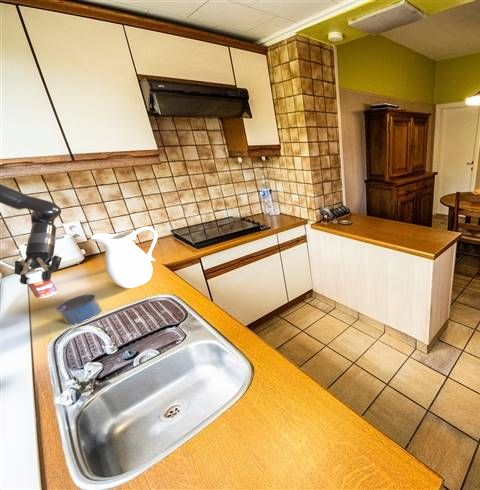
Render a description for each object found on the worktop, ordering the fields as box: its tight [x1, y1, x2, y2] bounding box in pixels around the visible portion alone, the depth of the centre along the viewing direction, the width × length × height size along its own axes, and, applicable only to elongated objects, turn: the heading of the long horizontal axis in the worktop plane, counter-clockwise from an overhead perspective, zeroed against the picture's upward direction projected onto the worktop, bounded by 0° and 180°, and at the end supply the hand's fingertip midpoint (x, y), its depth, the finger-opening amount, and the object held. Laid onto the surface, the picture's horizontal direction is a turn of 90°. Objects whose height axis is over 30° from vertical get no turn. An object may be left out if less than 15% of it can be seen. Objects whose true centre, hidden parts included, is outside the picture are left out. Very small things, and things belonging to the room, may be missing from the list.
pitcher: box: [89, 226, 159, 289], centre depth 133 cm, size 24×17×28 cm
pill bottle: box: [25, 269, 58, 299], centre depth 111 cm, size 6×6×11 cm
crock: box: [55, 293, 103, 325], centre depth 111 cm, size 12×12×7 cm
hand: (35, 282), depth 109 cm, fingers closed on pill bottle, 6 cm apart
